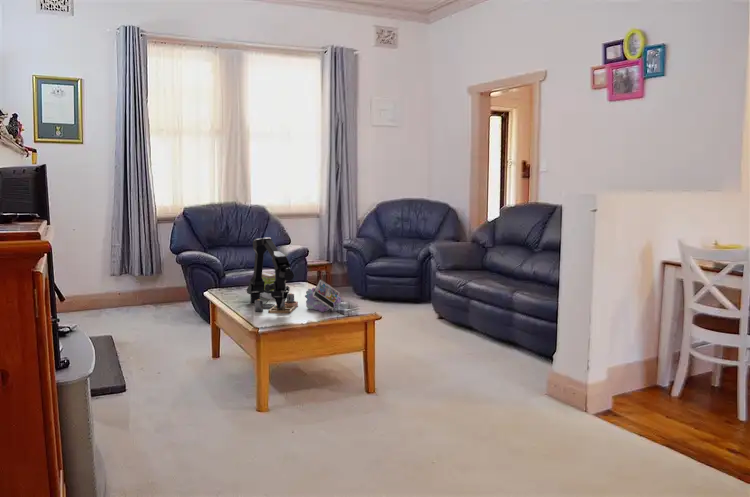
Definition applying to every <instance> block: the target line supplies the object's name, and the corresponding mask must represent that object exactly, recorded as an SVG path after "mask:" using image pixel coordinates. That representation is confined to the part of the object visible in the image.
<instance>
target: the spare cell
mask: <svg viewBox="0 0 750 497" xmlns="http://www.w3.org/2000/svg"><path fill="white" fill-rule="evenodd" d="M263 304H264V300H263V299H261V298H260V299H258V300H255V303H254V312H255V313H262V312H264V310H263Z"/></svg>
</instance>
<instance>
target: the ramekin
mask: <svg viewBox="0 0 750 497" xmlns="http://www.w3.org/2000/svg"><path fill="white" fill-rule="evenodd" d="M298 303H299V302H298V301H296V300H294V303H287V300H285V306H295V308H297V307H298V306H299V304H298Z"/></svg>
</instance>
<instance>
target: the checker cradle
mask: <svg viewBox="0 0 750 497" xmlns="http://www.w3.org/2000/svg"><path fill="white" fill-rule="evenodd" d="M275 305H277V304H276V303H263V311H264V310H265V311H266V310H270V309H271V308H272V307H273V306H275ZM274 308H277V306H275V307H274Z"/></svg>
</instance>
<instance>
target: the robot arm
mask: <svg viewBox="0 0 750 497" xmlns="http://www.w3.org/2000/svg"><path fill="white" fill-rule="evenodd" d="M252 249H253V251H254V252H255V253H254V263H253V264H254V265H253V275H252V277H251V279H249V285H248V286H247V289H246V293H247V294H249V295H250V303H251V304H255V300H258V299H260V300H261V296H260V293H263V292H264V283H265V282H264V281H263V279H262V272H263V270H264V269H263V268H264V267H263V266H264V257H265V253H266V252H268V253H269V255H270V257H271V262H272V264H273V266H274V267H273V270H274V273H275V281H274V283H272V284H266V285H265V290H266V292H268V291H270V290H273V289H274V291H272V292H271V296H272V297H273V298H274V300H275V305H276V304H277V308H280V306H281V303H282V300H283V298H284V299H285V301H287V295H288V294H289V293H290V290H291V289H290V286H289V285H287V284H286V282H291V281H292V280H293V279H294V277H295V273H294V272H293V270H291V264H290V262H289V260H288V257H287V256H286V254H284V252H281V251H280V250H279V249H278V248H277V246H276V245H275V243H274V241H273V239H272V237H263V238H262V237H261V238H255V239H253V241H252Z"/></svg>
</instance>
